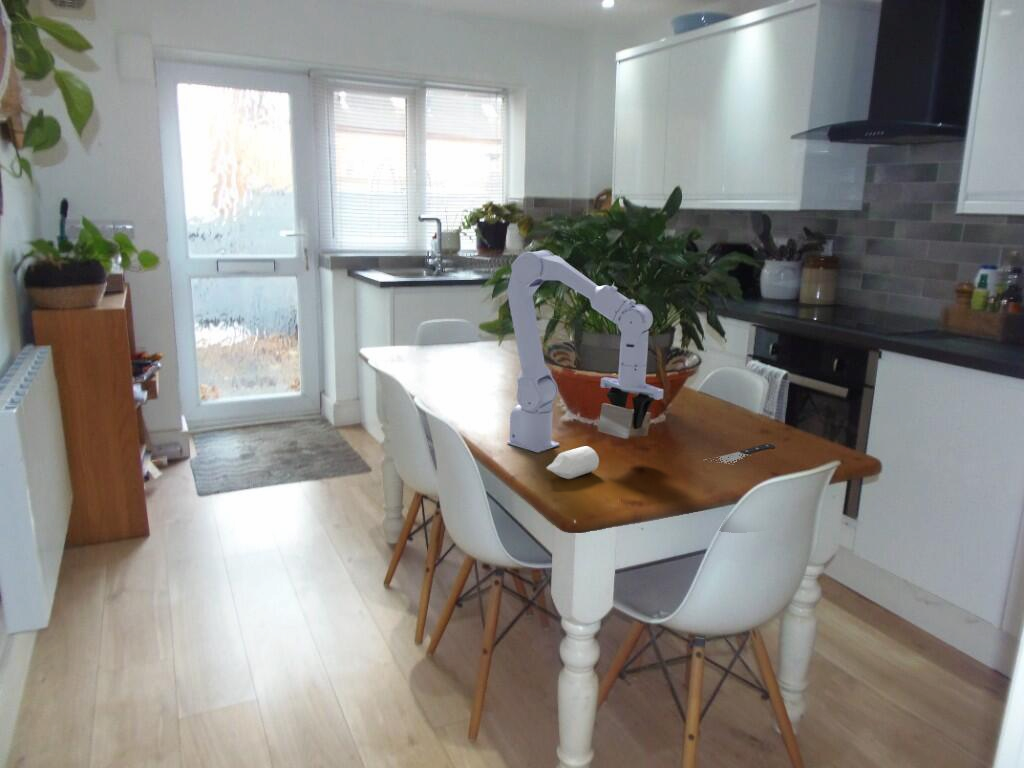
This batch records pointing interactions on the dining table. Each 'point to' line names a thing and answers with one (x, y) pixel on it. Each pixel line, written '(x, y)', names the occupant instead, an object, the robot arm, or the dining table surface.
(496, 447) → the dining table surface
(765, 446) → the kitchen knife
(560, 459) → the white pointed cylinder
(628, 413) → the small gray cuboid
